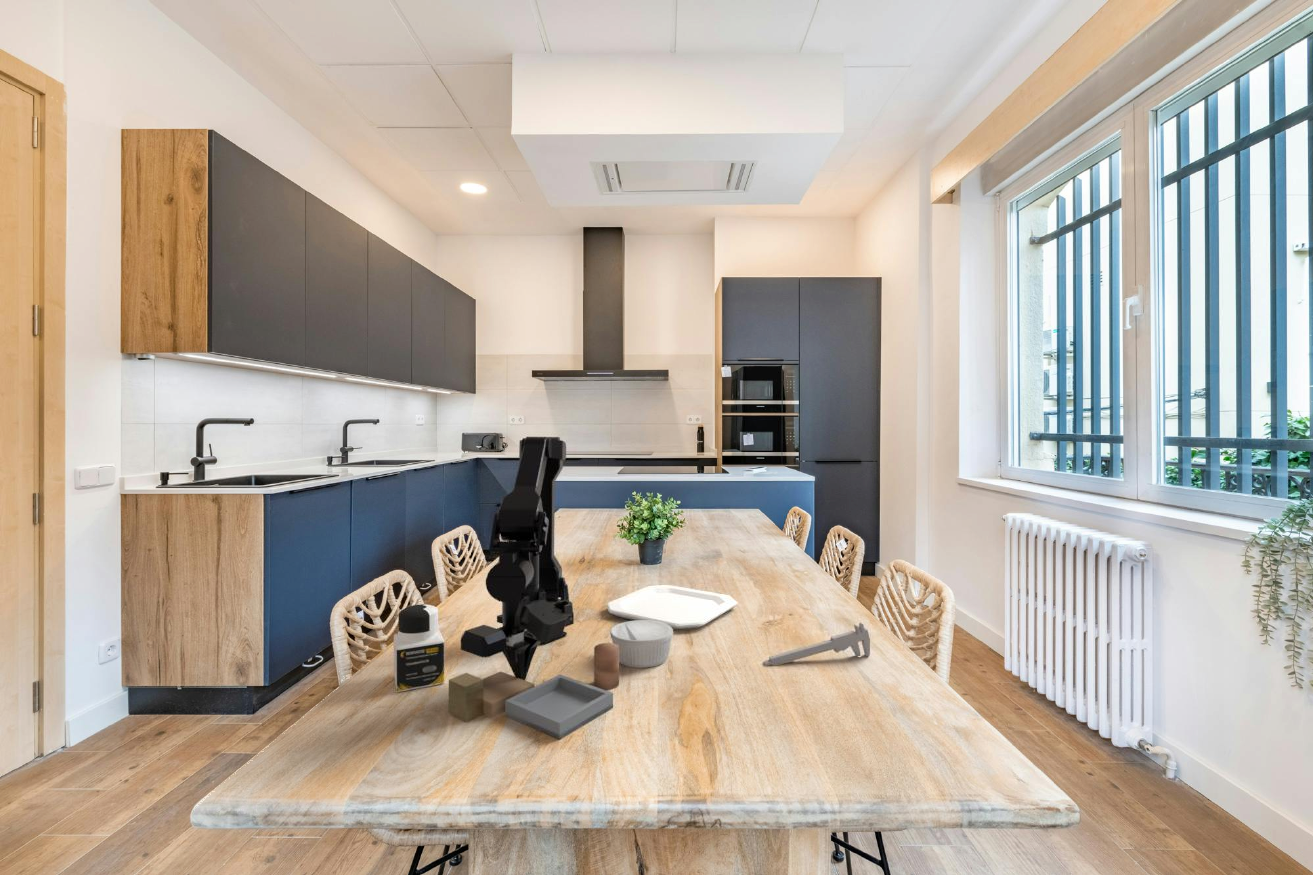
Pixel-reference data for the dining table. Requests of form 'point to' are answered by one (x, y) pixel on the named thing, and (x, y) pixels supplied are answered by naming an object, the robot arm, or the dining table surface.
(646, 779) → the dining table surface
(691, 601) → the plate
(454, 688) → the rectangular block
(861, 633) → the caliper
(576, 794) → the dining table surface
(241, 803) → the dining table surface
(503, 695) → the board
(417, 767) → the dining table surface
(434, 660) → the medicine bottle
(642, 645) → the ramekin
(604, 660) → the dowel
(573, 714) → the tray
